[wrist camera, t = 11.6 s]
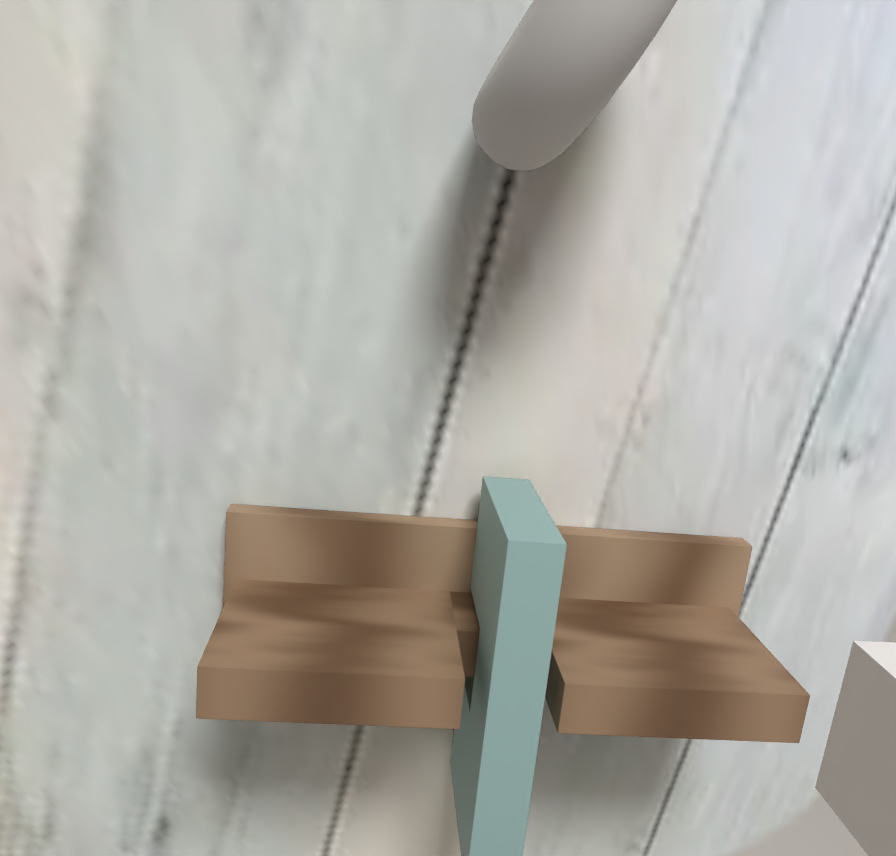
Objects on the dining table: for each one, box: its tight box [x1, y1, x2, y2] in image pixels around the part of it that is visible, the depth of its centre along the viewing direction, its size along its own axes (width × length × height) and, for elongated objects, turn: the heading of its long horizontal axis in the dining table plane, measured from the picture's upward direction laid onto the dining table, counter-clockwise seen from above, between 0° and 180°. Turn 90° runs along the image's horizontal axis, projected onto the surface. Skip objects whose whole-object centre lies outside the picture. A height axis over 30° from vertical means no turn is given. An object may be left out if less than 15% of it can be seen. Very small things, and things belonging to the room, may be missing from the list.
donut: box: [472, 0, 677, 171], centre depth 26 cm, size 10×4×10 cm, turn 147°
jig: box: [196, 504, 810, 743], centre depth 32 cm, size 23×8×8 cm, turn 84°
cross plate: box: [450, 476, 567, 856], centre depth 31 cm, size 14×2×7 cm, turn 174°
